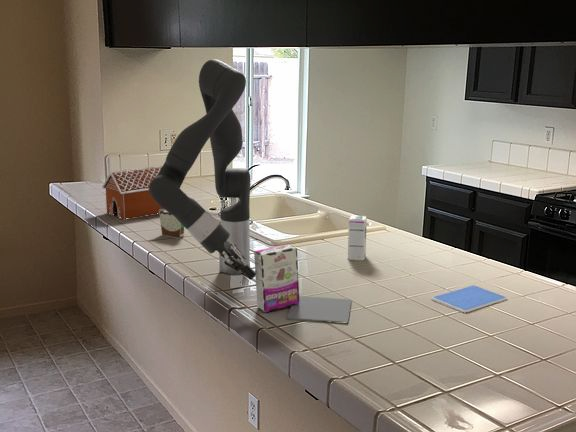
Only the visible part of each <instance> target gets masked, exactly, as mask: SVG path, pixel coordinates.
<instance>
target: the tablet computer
mask: <svg viewBox="0 0 576 432" xmlns="http://www.w3.org/2000/svg"><path fill="white" fill-rule="evenodd" d="M431 300H432V301H433V302H435V301H436V302H435V303H437V302H438V304H440V303H441V304H440V305H442V304H443V306H445V307H447V306H448V307H447V308H450V307H451V308H450V309H452V308H454V309H453V310H455V309H456V310H455V311H457V310H459V311H458V312H460V311H461V312H460V313H463V312H464V314H465V313H466V312H467V313H470V312H473V311H475V310H479V309H482V308H484V307H488V306H491V305H494V303H495V304H498V303H501V302H505V301H507V300H508V297H506V296H504V295H501V294H500V293H496V292H493V291H491V290H488V289H486V288H483V287H481V286H477V285H470V286H466V287H463V288H459V289H455V290H452V291H449V292H446V293H442V294H438V295H435V296H432V297H431ZM504 300H505V301H504ZM467 313H466V314H467Z"/></svg>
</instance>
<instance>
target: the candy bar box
mask: <svg viewBox="0 0 576 432" xmlns="http://www.w3.org/2000/svg"><path fill="white" fill-rule="evenodd" d="M253 256H254V258H253V259H254V271H255V274H256V275H255V288H256V289H255V291H256V305H257V308H258V309H259V310H261V311H263V312H264V313H269V312H273V311H276V310H280V309H283V308H288V307H291V306H292V305H296V304H299V296H300V287H299V285H300V284H299V281H300V280H299V262H298V260H299V259H298V247H297V246H294V245H292V244H290V243H288V244H283V245H278V246H274V247H268V248H263V249H257V250H254V251H253Z"/></svg>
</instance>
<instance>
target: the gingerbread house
mask: <svg viewBox="0 0 576 432" xmlns="http://www.w3.org/2000/svg"><path fill="white" fill-rule="evenodd" d="M162 166H163V165H157V166H156V165H155V166H154V165H153V166H145V167H141V168H139V167H137V168H128V169H121V170H113V171H111V172H109V173H108V175H107V176H106V178H105V180H104V181H103V184H102V186H101V187H102V189H103V190H104V189H105V203H106V214H107V213H110V214H112V215H113V214H115V212H116V213H117V218H118V217H121V218H123V219H126V218H133V217H139V218H141V217H140V216H145V215H150V216H152V215H151V214H156V215H158V214H157V213H159V210H160V209H164V208H162V207H161V206H160V205H159V204H158V203H157V202H156V201H155V200H154V199H153V198H152V197H151V195H150V192H149V185H150V183H151V181H152V180H153V179H154V178H156V176H157V174H158V173H159V171H160V170H161V168H162ZM110 214H109V215H110ZM112 215H111V216H112ZM113 216H114V215H113ZM145 217H146V216H145ZM123 219H122V220H123ZM133 219H134V218H133Z"/></svg>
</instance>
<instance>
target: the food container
mask: <svg viewBox="0 0 576 432" xmlns="http://www.w3.org/2000/svg"><path fill="white" fill-rule="evenodd" d="M157 215H159V223H160V230H161V236H164V235H165V236H164V237H168V236H169V238H174V239H179V240H181V239H183V238H184V236H185V227H184V226H183V225H182V224H181V223H180V222H179V221H178V220H177V219H176V218H175V217H174V216H173V215H172V214H170V213H169V212H168V211H166V210H165V209H160V210H159V213H158V214H157Z"/></svg>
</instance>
